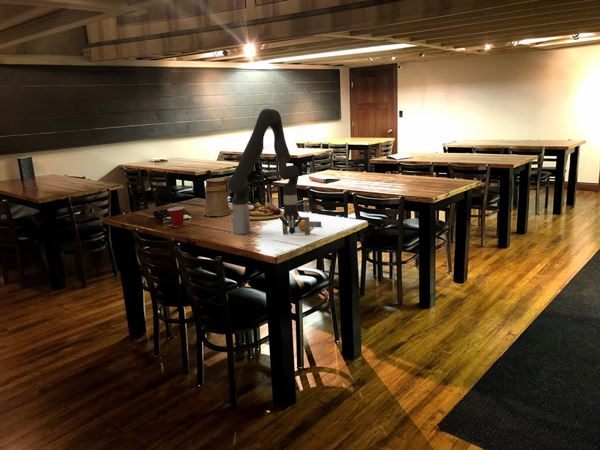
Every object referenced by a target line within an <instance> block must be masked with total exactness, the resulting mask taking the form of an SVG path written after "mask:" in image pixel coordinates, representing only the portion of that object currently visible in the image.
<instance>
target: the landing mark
mask: <svg viewBox="0 0 600 450" xmlns="http://www.w3.org/2000/svg"><path fill="white" fill-rule="evenodd" d="M314 228H315V227H310V233H311V231H313V230H314ZM288 234H290V233H289V230H288ZM294 234H305V231H301V230H300V229H299V228H298V227H295V233H294Z"/></svg>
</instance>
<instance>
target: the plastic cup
mask: <svg viewBox="0 0 600 450" xmlns="http://www.w3.org/2000/svg"><path fill="white" fill-rule="evenodd" d="M167 212H168V214H169V216H170V220H171V223H172V225H173V227H174V226H181V225H183V226H184V217H185V216H184V213H185V206H175V207H171V208H168V209H167Z"/></svg>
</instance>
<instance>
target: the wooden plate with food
mask: <svg viewBox="0 0 600 450" xmlns="http://www.w3.org/2000/svg"><path fill="white" fill-rule="evenodd" d="M283 214H284V210H282V209H281V208H280V207H277V206H275V204H272V203H269V202H267V203H266V204H264V206H262V204H261V203H260V202H258V201H257V202H255V203H254V205H253V208H250V207H249V219H250V222H266V221H274V220H280V218H281V217H282V216H284V215H283Z"/></svg>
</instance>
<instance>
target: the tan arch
mask: <svg viewBox="0 0 600 450" xmlns="http://www.w3.org/2000/svg"><path fill="white" fill-rule="evenodd" d="M302 217H303V219H302V220H304V221H305V233H304V235H305V236H310V234H311V232H310V222H309V221H310V217H309V216H302ZM285 220H286V218H285ZM302 220H301V221H302ZM286 221H287V220H286ZM295 221H298V218H297V219H296V220H295ZM287 222H288V221H287ZM281 223H282V235H284V236H285V235H288V234H289V233H288V231H289V230H288V229H289V227H286V226H285V225H284V223H283V222H282V221H281Z"/></svg>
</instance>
